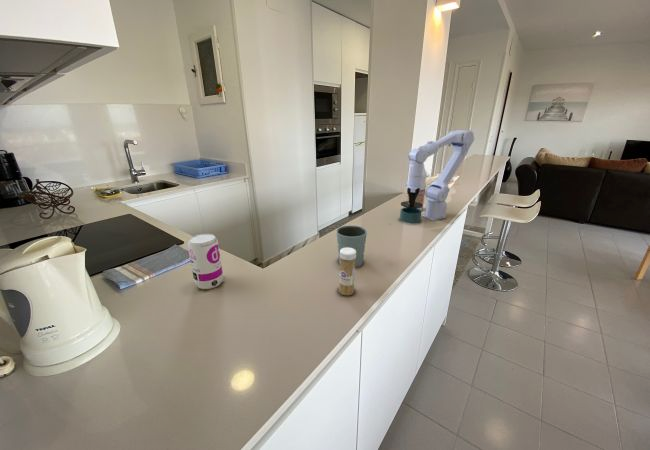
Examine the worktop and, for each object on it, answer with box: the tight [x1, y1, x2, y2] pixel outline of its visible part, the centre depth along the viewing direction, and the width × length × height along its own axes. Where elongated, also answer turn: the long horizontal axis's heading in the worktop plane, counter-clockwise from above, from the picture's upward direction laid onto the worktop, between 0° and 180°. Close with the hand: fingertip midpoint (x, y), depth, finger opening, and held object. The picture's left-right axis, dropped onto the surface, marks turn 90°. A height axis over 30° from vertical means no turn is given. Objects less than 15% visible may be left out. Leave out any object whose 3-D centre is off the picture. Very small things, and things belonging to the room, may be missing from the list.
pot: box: [399, 207, 423, 224], centre depth 136 cm, size 10×10×5 cm
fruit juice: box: [404, 162, 428, 211], centre depth 150 cm, size 9×9×28 cm
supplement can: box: [187, 233, 224, 290], centre depth 83 cm, size 8×8×15 cm
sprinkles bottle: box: [338, 247, 356, 296], centre depth 79 cm, size 5×5×13 cm
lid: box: [400, 200, 424, 209], centre depth 133 cm, size 10×10×5 cm
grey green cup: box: [336, 225, 368, 268], centre depth 96 cm, size 10×10×12 cm
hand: (411, 203), depth 134 cm, fingers closed on lid, 2 cm apart
